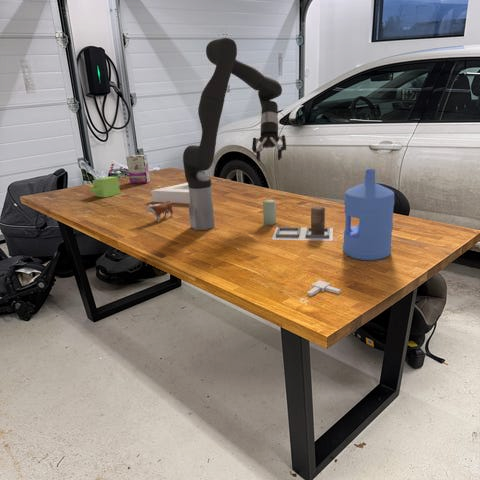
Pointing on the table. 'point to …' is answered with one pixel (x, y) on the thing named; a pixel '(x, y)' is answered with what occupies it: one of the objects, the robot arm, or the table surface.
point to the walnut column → (318, 220)
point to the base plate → (301, 234)
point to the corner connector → (322, 288)
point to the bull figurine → (160, 209)
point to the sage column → (269, 212)
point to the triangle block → (172, 194)
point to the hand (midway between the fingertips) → (268, 160)
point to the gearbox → (106, 186)
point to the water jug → (368, 220)
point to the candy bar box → (138, 169)
